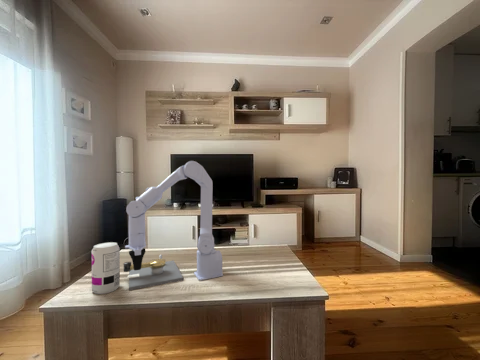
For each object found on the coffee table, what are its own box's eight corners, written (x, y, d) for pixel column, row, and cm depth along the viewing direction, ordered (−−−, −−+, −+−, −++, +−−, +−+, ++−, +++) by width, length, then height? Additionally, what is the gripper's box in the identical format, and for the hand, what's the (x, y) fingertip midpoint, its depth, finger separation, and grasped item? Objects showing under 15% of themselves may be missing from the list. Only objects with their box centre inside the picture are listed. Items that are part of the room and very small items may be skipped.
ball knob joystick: (164, 262, 95) (164, 255, 95) (166, 267, 89) (166, 259, 89) (123, 268, 88) (123, 261, 88) (123, 273, 83) (123, 266, 83)
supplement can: (88, 296, 74) (87, 249, 74) (96, 285, 82) (96, 242, 82) (116, 293, 76) (116, 247, 76) (121, 282, 84) (121, 241, 84)
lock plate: (173, 262, 104) (173, 251, 104) (183, 280, 85) (183, 266, 85) (127, 269, 97) (127, 257, 97) (127, 290, 78) (127, 275, 78)
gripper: (125, 230, 91) (125, 265, 91) (124, 238, 78) (125, 278, 78) (144, 228, 95) (145, 262, 94) (147, 235, 81) (147, 274, 81)
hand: (137, 269), depth 86 cm, fingers closed, pressing on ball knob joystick
